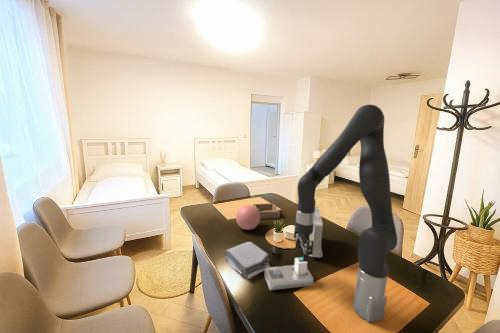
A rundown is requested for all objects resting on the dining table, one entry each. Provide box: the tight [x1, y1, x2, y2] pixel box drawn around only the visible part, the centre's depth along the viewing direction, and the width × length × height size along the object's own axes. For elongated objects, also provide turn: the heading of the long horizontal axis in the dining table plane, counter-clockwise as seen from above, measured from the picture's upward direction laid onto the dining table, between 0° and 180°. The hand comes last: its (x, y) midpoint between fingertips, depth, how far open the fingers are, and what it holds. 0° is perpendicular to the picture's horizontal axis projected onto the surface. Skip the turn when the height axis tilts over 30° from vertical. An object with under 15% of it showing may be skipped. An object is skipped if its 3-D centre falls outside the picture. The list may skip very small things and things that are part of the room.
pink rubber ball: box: [235, 204, 261, 231], centre depth 145 cm, size 15×20×15 cm
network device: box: [304, 206, 324, 258], centre depth 123 cm, size 26×9×20 cm, turn 168°
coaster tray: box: [252, 202, 281, 220], centre depth 169 cm, size 16×16×5 cm
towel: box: [224, 241, 271, 280], centre depth 108 cm, size 15×18×8 cm
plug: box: [293, 256, 308, 276], centre depth 98 cm, size 4×4×10 cm
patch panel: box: [263, 264, 314, 291], centre depth 98 cm, size 10×19×4 cm, turn 101°
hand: (301, 254), depth 98 cm, fingers open, 8 cm apart
